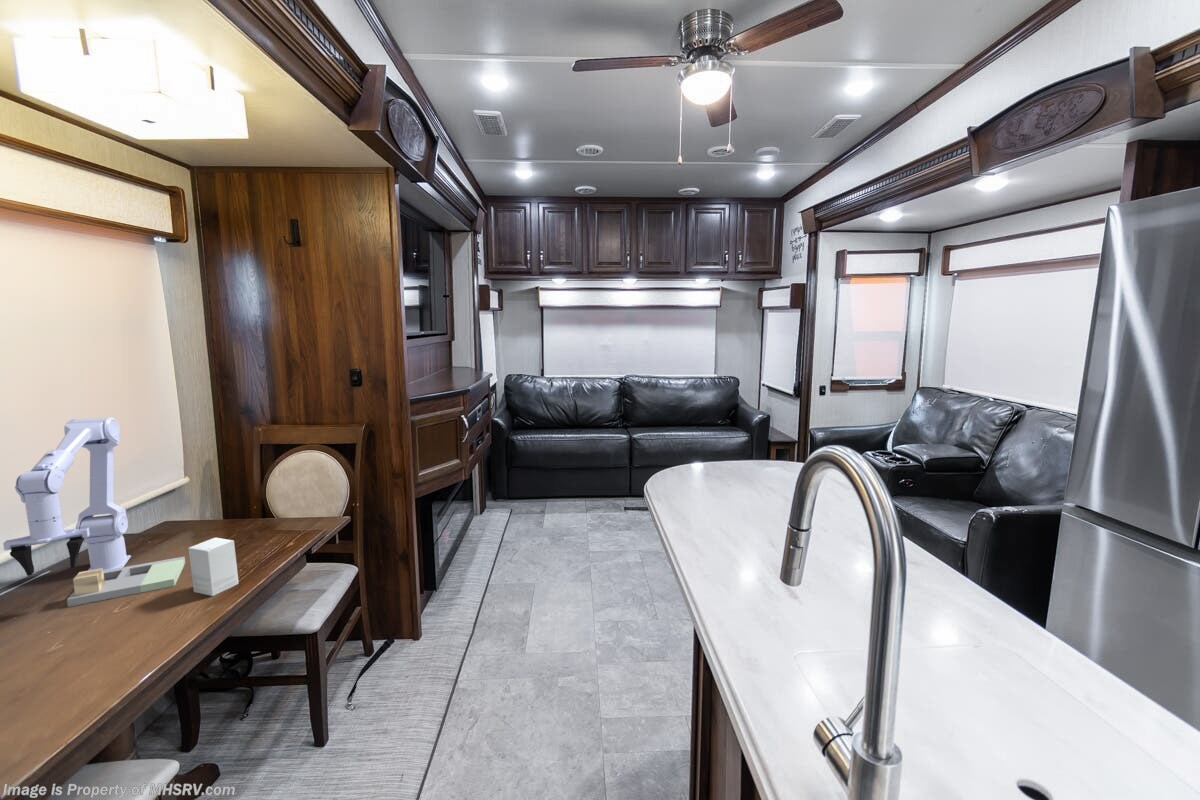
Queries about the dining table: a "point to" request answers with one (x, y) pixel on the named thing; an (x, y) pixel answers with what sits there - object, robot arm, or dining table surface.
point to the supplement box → (213, 566)
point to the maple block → (89, 581)
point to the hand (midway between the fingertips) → (52, 570)
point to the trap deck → (133, 580)
